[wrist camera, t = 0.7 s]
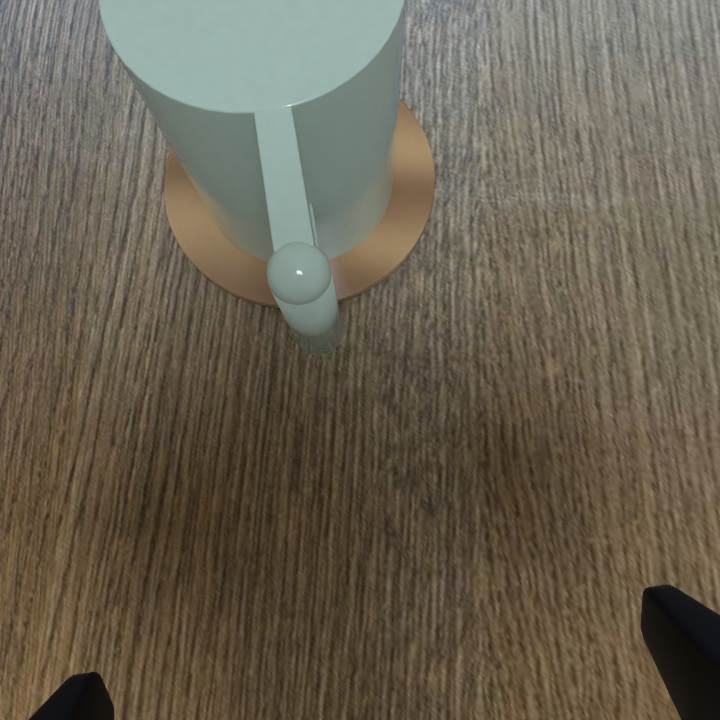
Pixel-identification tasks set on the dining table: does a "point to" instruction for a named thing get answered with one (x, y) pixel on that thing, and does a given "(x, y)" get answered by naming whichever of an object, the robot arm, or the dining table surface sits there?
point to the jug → (276, 127)
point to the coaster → (348, 270)
